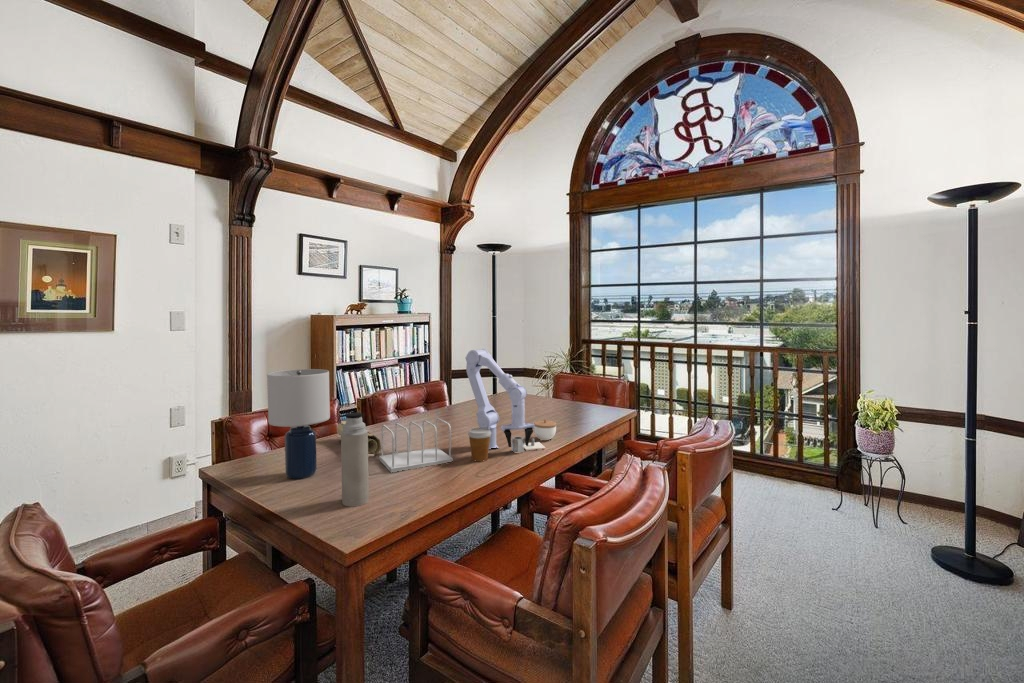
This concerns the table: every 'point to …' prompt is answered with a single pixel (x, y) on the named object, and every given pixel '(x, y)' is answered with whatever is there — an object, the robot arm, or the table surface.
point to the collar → (517, 444)
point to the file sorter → (418, 456)
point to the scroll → (373, 441)
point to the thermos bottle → (354, 461)
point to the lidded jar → (545, 429)
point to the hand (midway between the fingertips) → (518, 445)
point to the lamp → (299, 414)
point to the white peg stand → (533, 445)
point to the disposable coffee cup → (479, 443)
